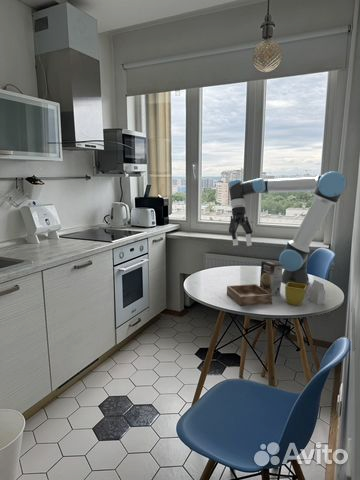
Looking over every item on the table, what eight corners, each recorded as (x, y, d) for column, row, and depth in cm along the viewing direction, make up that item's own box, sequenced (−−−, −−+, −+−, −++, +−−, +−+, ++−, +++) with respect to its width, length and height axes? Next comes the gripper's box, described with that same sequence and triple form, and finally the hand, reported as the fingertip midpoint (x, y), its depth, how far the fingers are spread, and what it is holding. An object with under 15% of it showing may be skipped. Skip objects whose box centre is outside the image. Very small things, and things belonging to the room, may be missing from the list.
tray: (255, 292, 169) (256, 283, 168) (271, 303, 154) (272, 294, 153) (226, 294, 165) (227, 285, 164) (240, 306, 150) (240, 297, 149)
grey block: (317, 304, 154) (319, 284, 152) (309, 299, 161) (311, 279, 159) (324, 304, 155) (326, 283, 153) (315, 298, 161) (317, 279, 160)
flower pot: (286, 298, 161) (288, 281, 159) (305, 302, 157) (307, 284, 155) (283, 304, 153) (284, 286, 151) (303, 308, 149) (304, 289, 147)
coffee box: (258, 290, 171) (260, 261, 168) (267, 289, 174) (270, 259, 171) (271, 296, 164) (273, 265, 161) (280, 294, 167) (283, 263, 164)
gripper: (244, 210, 194) (248, 246, 191) (219, 207, 175) (223, 246, 173) (255, 208, 189) (260, 244, 186) (231, 203, 170) (235, 244, 168)
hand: (242, 245), depth 179 cm, fingers open, 13 cm apart
